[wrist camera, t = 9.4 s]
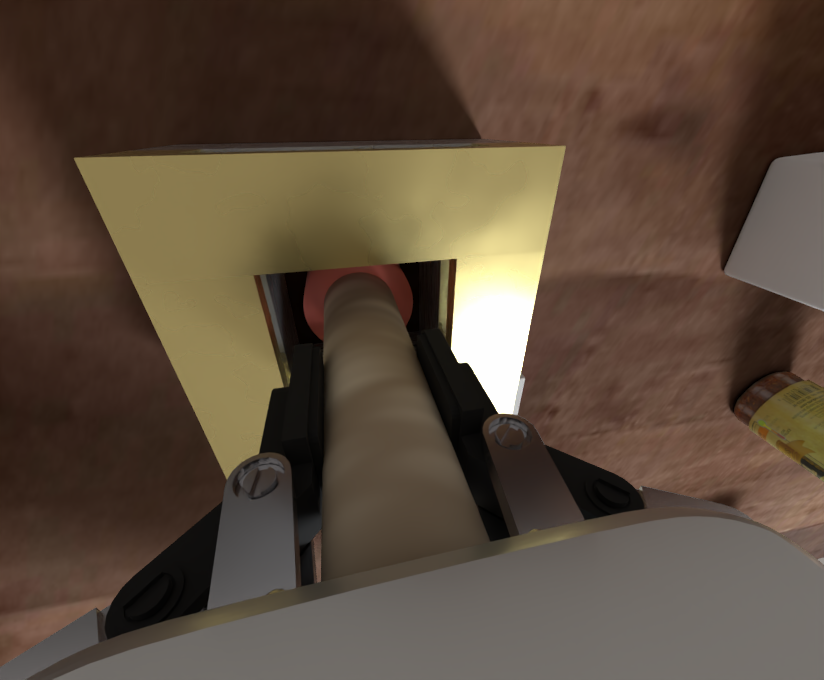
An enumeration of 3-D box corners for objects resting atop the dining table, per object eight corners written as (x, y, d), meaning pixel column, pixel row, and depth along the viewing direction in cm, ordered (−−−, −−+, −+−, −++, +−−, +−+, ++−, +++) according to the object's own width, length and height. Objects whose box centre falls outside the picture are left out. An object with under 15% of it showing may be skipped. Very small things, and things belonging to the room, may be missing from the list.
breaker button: (402, 234, 17) (412, 249, 15) (404, 323, 19) (413, 345, 18) (297, 241, 16) (293, 258, 14) (314, 333, 19) (313, 358, 17)
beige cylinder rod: (392, 269, 15) (699, 931, 3) (395, 331, 17) (590, 910, 4) (318, 275, 15) (279, 1140, 2) (329, 339, 16) (340, 1026, 4)
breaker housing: (482, 138, 16) (566, 145, 10) (462, 364, 23) (506, 440, 17) (175, 144, 14) (73, 157, 8) (257, 392, 21) (232, 490, 15)
